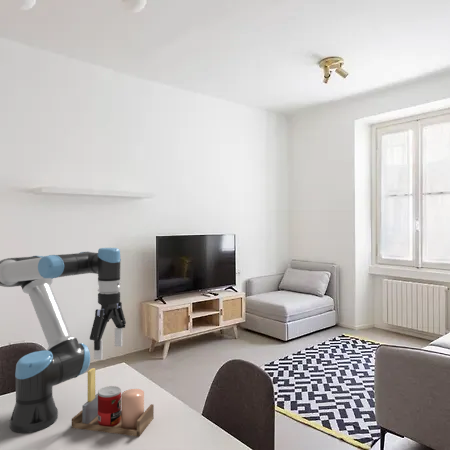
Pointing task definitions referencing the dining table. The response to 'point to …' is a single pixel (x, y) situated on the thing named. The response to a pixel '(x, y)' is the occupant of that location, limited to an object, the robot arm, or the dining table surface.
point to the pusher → (90, 400)
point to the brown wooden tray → (117, 429)
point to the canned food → (109, 406)
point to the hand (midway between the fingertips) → (108, 352)
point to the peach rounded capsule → (131, 408)
